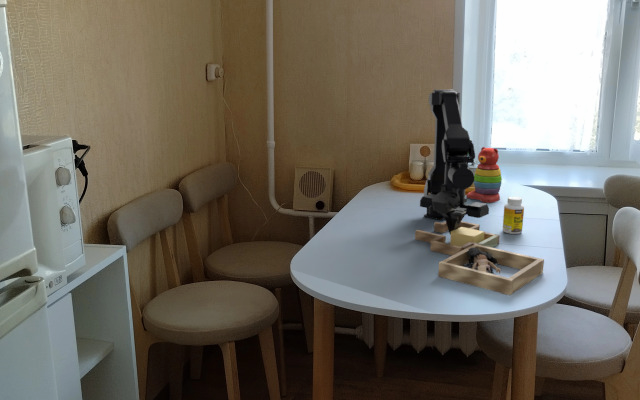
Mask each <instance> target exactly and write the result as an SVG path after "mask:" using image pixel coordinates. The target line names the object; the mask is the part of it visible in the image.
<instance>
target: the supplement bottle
mask: <svg viewBox="0 0 640 400" xmlns="http://www.w3.org/2000/svg"><path fill="white" fill-rule="evenodd" d="M522 203H523V198H522V197H519V196H509V197H507V200H506V203H505V204H504V206H503V217H502V218H503V219H502V231H503V232H504V233H506V234H509V235H518V234H521V233H522V232H523V227H524V224H523V223H524V214H525V206H524V204H522Z"/></svg>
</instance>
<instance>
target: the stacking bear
mask: <svg viewBox="0 0 640 400" xmlns="http://www.w3.org/2000/svg"><path fill="white" fill-rule="evenodd" d="M477 160H478V163H479V164H477V167H476V169H475V172H474V174H473V175H474V182H473V185H474V190H471V191H470V192H467V194H466V198H467V199H470V200H478V201H481V203H484V204H490V203H491V204H492V203H496V202H498V201H499V200H500V199H501V196H500V190H501V186H502V180H503V179H502V178H503V177H502V172H501V168H500V166H499V165H498V164H497V163H498V161H499V150H498V149H497V148H493V147H485V146H483V147H481V148H480V151H479V153H478V156H477Z"/></svg>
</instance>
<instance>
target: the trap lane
mask: <svg viewBox="0 0 640 400" xmlns="http://www.w3.org/2000/svg"><path fill="white" fill-rule="evenodd" d="M480 226H481V225H480V224H478V223H473V222H468V221H465V220H464V221H463V220H462V221H461V222H460V224H459V226H458V228H460V227H465V228H470V229H474V230H479V231H480V228H481V227H480ZM458 228H457V229H458ZM433 232H436V233H433ZM433 232H430V231H425V230H420V229H416V230H415V232H414V239H415V240H418V241H421V242H426V243H429V244H430V252H431V251H432V252H435V253H440V254H444V255H448V256H453V255H455V254H457V253H459V252H461V251H462V250H464V249H466V248H468V247H470V246H472V245H474V244H478V245H482V246H487V247H491V248H495V247H496V246H497V245H500V234H495V233H490V232H488V231H487V232H486V231H484V241H482V242H480V243H475V242H469V243H467V244H465V245H463V246H461V247H459V246H455V245H451V244H450V243H446V242H447V241H446V238H447V236H446V235H442V234H443V233H446V232H449V230H448V227H447V224H446V221H445V220H444V222H437V221H435V222H434V223H433ZM437 233H442V234H437Z"/></svg>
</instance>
